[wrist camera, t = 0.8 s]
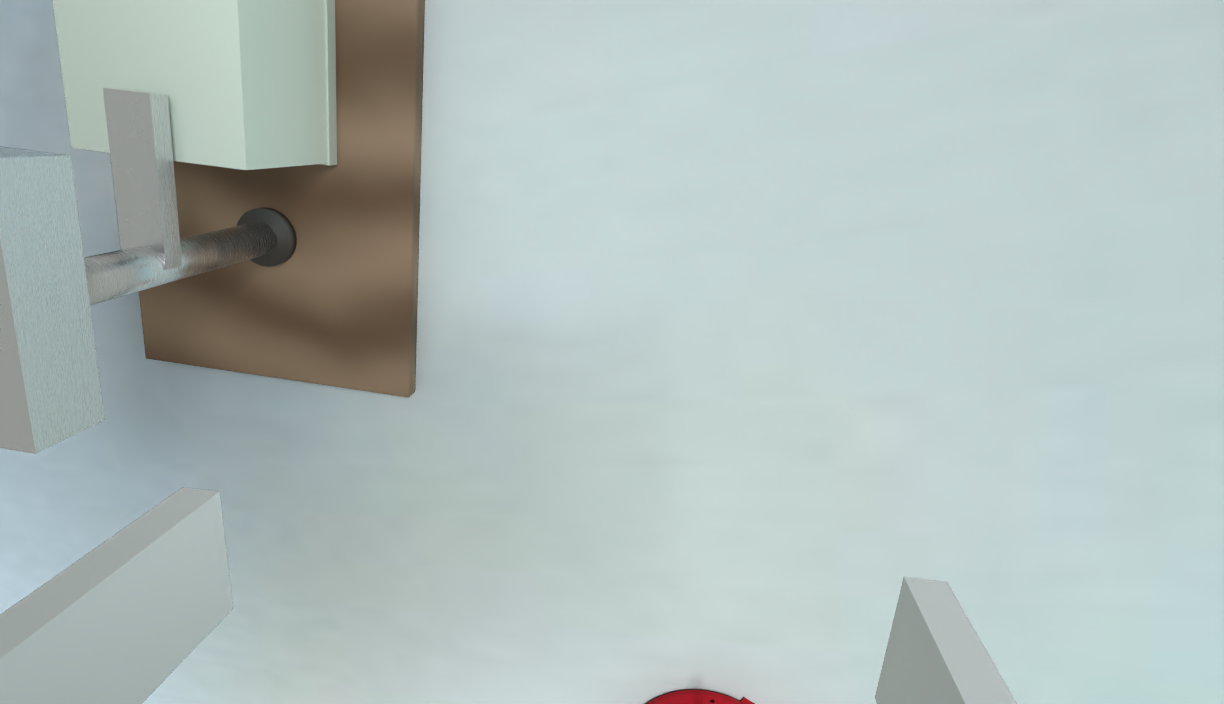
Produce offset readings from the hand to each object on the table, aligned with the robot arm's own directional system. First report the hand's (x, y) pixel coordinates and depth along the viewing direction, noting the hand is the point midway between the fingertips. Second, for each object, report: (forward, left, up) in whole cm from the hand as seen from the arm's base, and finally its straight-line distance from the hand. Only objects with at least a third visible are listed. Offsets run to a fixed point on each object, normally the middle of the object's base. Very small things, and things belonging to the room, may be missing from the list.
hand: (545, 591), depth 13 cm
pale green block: (-10, -21, -26) cm, 35 cm away
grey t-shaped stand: (-2, -21, -25) cm, 33 cm away
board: (-4, -21, -27) cm, 34 cm away
